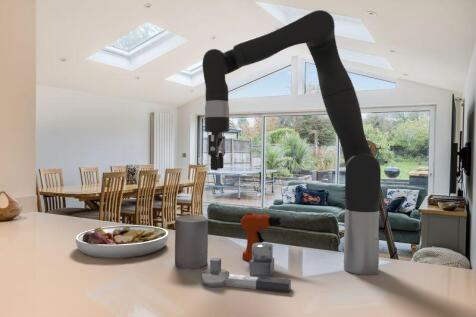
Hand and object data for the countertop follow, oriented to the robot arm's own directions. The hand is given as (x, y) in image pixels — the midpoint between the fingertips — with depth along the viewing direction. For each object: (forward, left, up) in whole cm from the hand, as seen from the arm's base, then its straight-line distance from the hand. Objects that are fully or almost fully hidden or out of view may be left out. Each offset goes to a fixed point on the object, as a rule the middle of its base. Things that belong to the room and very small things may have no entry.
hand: (217, 169), depth 121 cm
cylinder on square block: (-17, +11, -28) cm, 34 cm away
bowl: (+34, -2, -28) cm, 44 cm away
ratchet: (-15, +21, -28) cm, 37 cm away
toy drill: (-16, -1, -28) cm, 32 cm away
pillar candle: (+5, +8, -28) cm, 29 cm away
